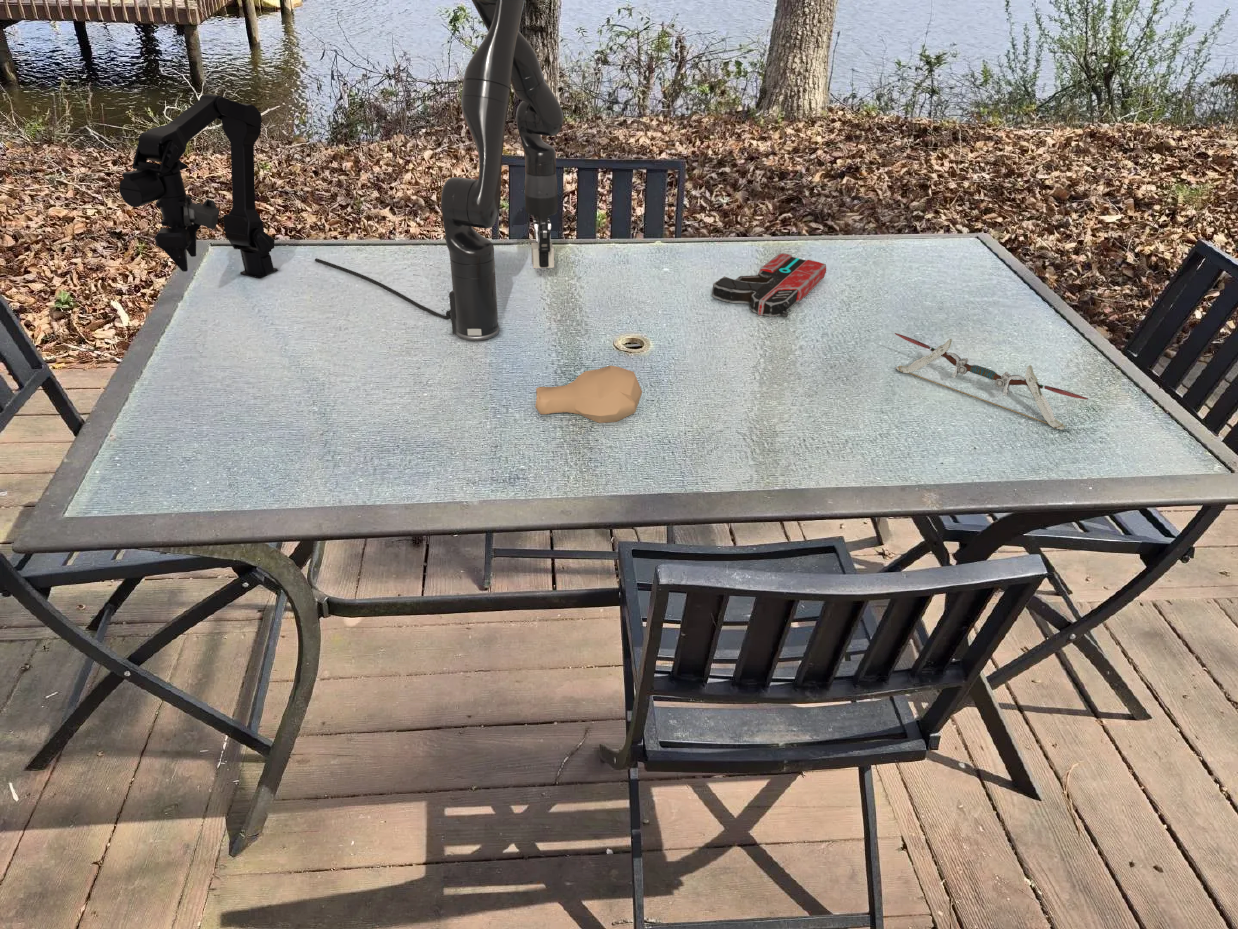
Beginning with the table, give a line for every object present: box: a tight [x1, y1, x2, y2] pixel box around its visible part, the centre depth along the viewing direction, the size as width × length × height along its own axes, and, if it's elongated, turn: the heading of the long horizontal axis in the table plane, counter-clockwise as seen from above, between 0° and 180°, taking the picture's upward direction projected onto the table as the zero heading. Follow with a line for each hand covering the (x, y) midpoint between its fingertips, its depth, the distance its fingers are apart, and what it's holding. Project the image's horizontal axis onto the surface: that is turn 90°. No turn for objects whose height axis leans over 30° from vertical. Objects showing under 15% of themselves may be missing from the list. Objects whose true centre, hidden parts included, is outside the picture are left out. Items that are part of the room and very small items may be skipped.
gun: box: [711, 252, 827, 318], centre depth 215 cm, size 4×31×19 cm
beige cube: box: [530, 241, 555, 269], centre depth 212 cm, size 5×5×5 cm
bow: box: [894, 332, 1090, 431], centre depth 170 cm, size 39×2×10 cm, turn 47°
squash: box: [534, 364, 643, 424], centre depth 162 cm, size 11×20×9 cm, turn 90°
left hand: (189, 263), depth 197 cm, fingers open, 9 cm apart
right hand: (542, 262), depth 213 cm, fingers closed on beige cube, 4 cm apart
